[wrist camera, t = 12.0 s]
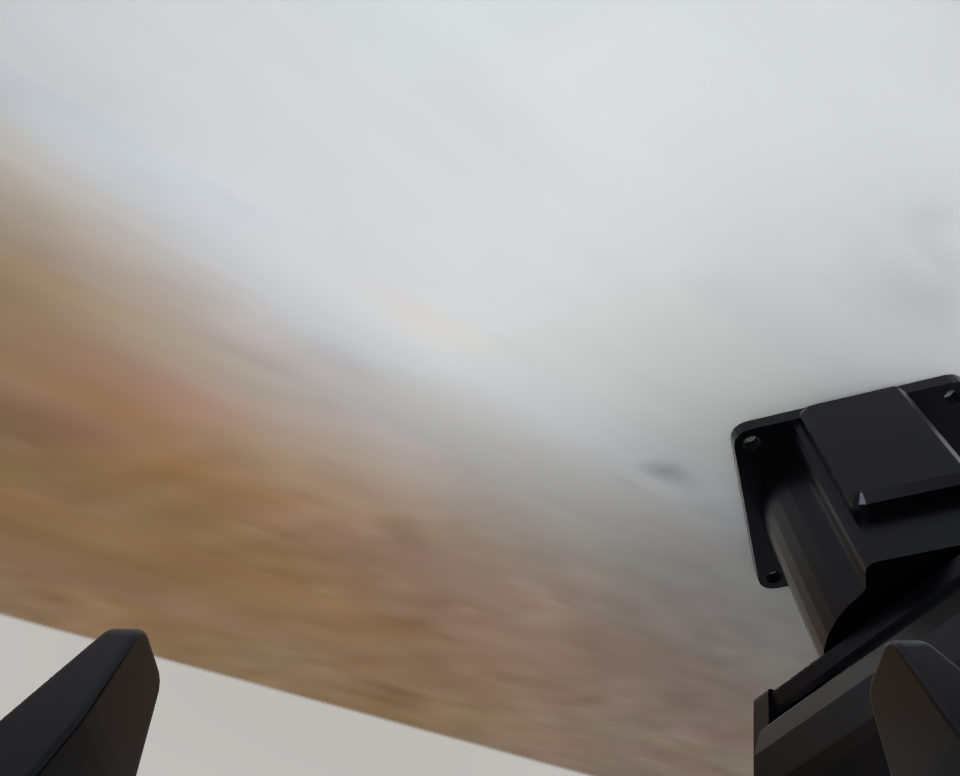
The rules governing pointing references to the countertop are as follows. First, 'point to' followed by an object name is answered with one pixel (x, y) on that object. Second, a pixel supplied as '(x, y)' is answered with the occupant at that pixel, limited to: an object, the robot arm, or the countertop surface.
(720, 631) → the countertop surface
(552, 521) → the countertop surface
